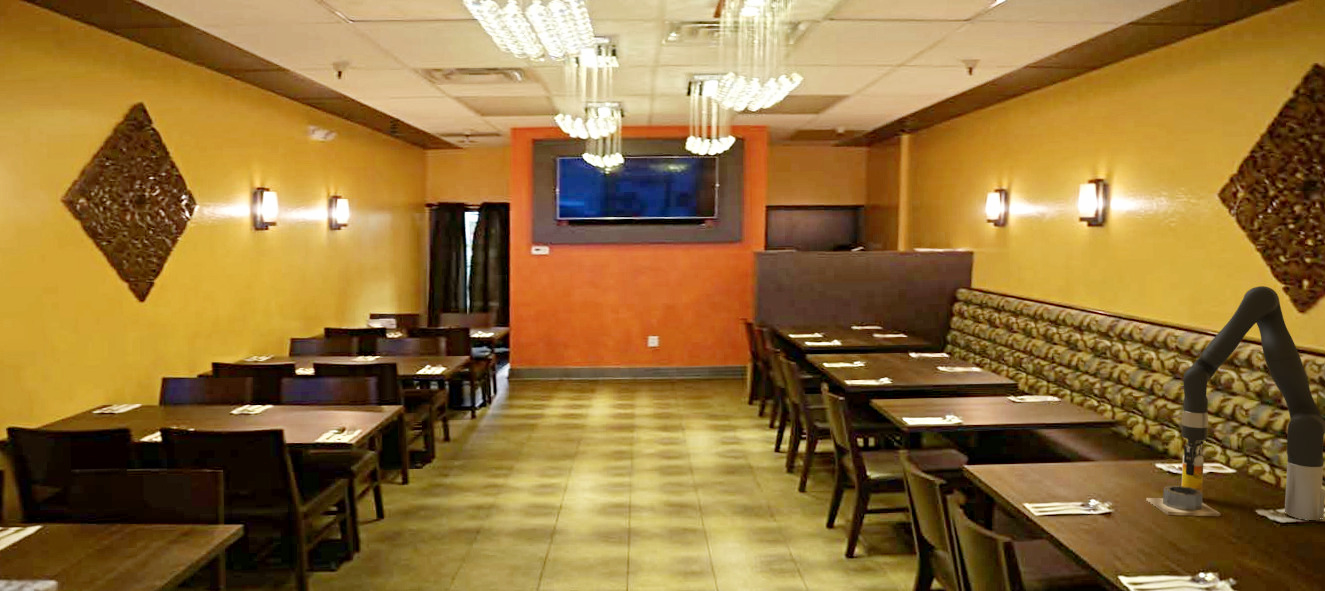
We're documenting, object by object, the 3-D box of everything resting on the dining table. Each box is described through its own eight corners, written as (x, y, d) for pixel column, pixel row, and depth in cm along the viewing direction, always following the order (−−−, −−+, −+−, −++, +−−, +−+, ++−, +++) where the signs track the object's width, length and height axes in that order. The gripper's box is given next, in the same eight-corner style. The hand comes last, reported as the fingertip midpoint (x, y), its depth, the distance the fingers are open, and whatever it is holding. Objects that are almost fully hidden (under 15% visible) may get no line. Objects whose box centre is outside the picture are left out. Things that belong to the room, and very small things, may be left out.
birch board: (1195, 501, 297) (1196, 499, 297) (1220, 516, 282) (1220, 513, 282) (1146, 500, 298) (1146, 497, 298) (1167, 514, 284) (1168, 511, 283)
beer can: (1200, 501, 298) (1202, 457, 297) (1179, 498, 302) (1181, 454, 300) (1202, 497, 303) (1204, 453, 302) (1182, 493, 306) (1184, 451, 305)
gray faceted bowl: (1191, 500, 295) (1191, 486, 295) (1208, 511, 284) (1209, 495, 284) (1157, 499, 296) (1157, 485, 296) (1173, 510, 285) (1173, 494, 285)
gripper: (1201, 429, 293) (1199, 479, 294) (1212, 422, 303) (1210, 471, 304) (1176, 425, 298) (1174, 475, 299) (1188, 419, 308) (1186, 467, 309)
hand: (1192, 472), depth 302 cm, fingers closed on beer can, 5 cm apart
